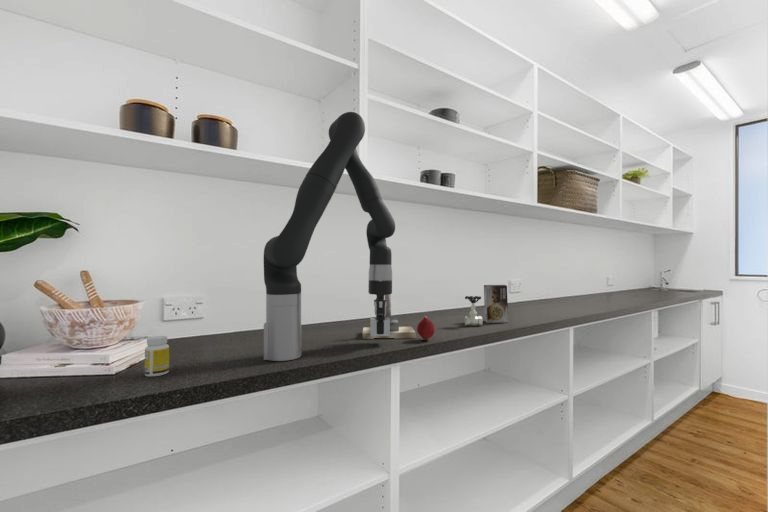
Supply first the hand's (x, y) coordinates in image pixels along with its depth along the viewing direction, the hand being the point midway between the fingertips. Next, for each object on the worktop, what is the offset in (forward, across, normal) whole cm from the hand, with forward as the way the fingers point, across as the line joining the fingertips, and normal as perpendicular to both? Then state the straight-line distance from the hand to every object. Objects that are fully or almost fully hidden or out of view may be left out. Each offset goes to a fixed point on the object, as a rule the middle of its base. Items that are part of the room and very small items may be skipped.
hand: (379, 332), depth 112 cm
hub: (+1, 0, 0) cm, 1 cm away
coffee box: (+2, -42, +52) cm, 67 cm away
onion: (+4, -4, +16) cm, 17 cm away
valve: (+3, -32, +39) cm, 51 cm away
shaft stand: (+3, -14, +3) cm, 15 cm away
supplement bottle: (+5, +28, -52) cm, 60 cm away
